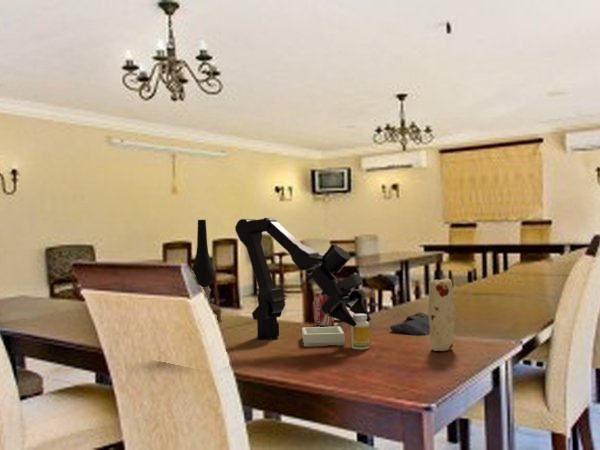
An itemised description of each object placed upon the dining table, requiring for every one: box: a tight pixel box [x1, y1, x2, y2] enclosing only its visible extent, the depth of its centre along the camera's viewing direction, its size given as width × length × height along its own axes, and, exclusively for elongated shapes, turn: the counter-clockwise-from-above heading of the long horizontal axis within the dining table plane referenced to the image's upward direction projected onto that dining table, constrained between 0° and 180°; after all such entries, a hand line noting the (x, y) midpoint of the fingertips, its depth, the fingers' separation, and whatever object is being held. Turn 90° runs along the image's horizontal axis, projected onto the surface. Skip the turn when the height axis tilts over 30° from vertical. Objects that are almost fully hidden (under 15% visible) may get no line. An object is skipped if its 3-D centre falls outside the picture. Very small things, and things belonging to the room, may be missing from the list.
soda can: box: [313, 290, 335, 327], centre depth 195 cm, size 7×7×12 cm
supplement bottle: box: [350, 313, 371, 351], centre depth 157 cm, size 5×5×10 cm
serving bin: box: [301, 325, 346, 347], centre depth 166 cm, size 12×12×4 cm
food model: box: [427, 277, 456, 352], centre depth 152 cm, size 10×7×20 cm
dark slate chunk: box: [389, 312, 430, 336], centre depth 185 cm, size 15×22×5 cm
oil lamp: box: [191, 219, 223, 324], centre depth 205 cm, size 14×15×40 cm
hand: (362, 323), depth 156 cm, fingers open, 9 cm apart
